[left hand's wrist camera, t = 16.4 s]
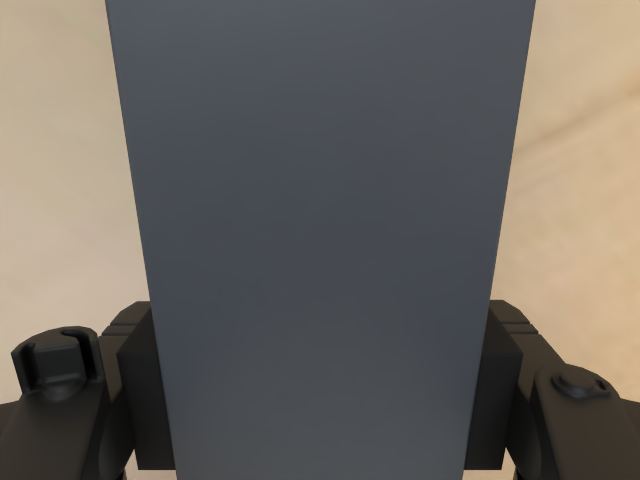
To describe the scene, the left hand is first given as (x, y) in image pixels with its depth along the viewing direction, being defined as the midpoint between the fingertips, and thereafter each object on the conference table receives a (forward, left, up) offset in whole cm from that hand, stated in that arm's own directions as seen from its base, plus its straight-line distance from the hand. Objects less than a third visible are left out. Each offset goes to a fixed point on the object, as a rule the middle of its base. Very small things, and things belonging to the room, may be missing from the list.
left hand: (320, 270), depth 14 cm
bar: (-4, +36, -1) cm, 37 cm away
